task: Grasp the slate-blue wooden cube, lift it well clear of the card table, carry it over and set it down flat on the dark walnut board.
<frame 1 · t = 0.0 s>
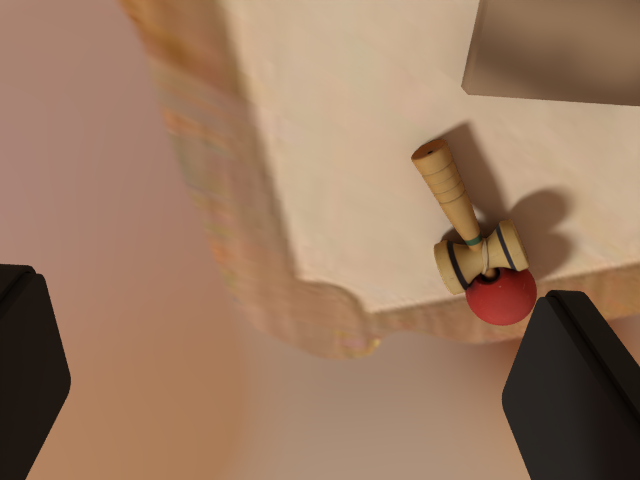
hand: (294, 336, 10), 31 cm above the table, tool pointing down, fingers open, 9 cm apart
kendama: (463, 223, 45), on the table
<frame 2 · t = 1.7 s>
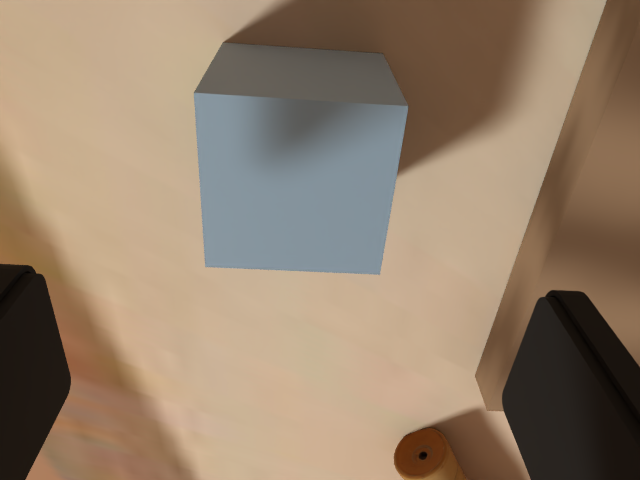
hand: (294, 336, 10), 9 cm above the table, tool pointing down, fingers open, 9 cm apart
cube: (299, 123, 17), on the table
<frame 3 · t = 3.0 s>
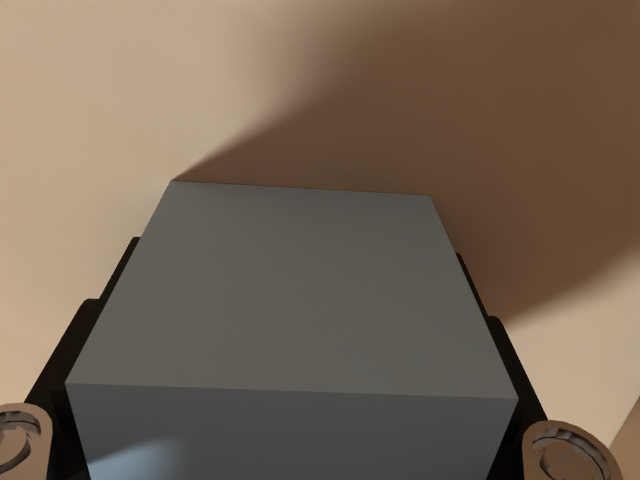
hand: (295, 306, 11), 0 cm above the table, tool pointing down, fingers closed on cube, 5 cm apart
cube: (295, 290, 11), on the table, touching gripper
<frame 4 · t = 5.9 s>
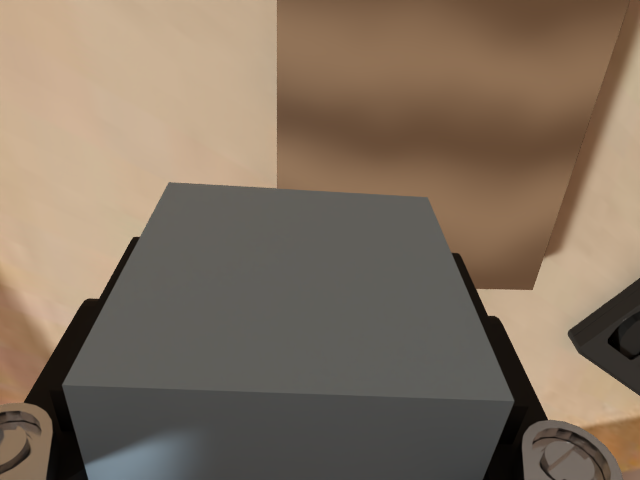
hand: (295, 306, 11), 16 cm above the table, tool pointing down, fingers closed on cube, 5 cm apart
cube: (294, 292, 11), point 15 cm above the table, touching gripper
board: (424, 113, 25), on the table
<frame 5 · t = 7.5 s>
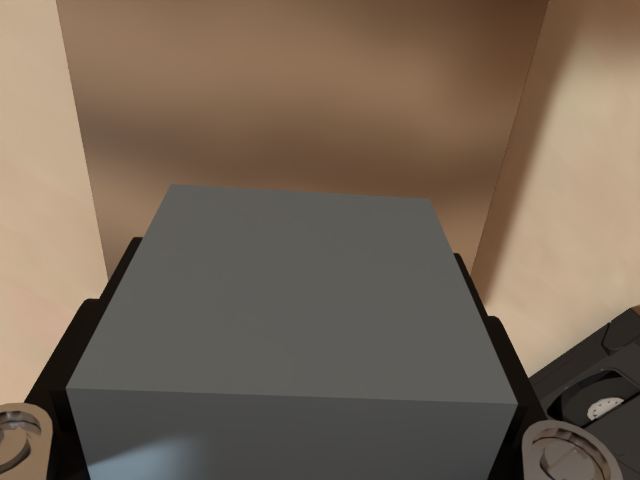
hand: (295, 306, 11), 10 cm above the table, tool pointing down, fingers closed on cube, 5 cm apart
cube: (295, 293, 11), point 9 cm above the table, touching gripper
board: (297, 131, 19), on the table
vhs tape: (632, 403, 29), on the table
when the fingers open (4 cm above the table, at t = 8.9 s): cube drops 1 cm, resting on board.
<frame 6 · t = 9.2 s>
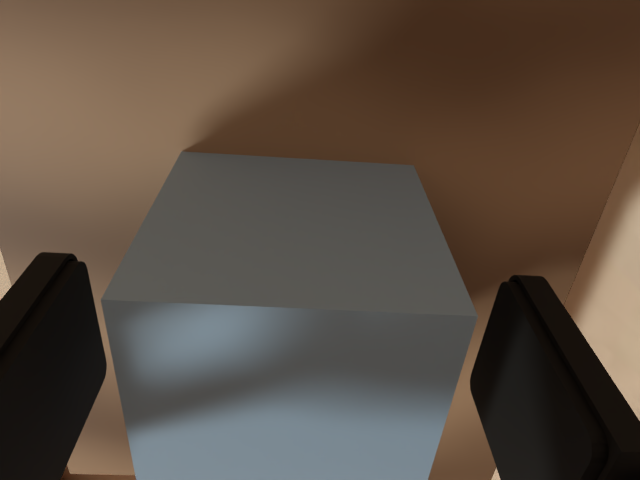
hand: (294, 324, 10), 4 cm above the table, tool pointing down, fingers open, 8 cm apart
cube: (293, 254, 12), point 2 cm above the table, touching board
board: (298, 215, 14), on the table
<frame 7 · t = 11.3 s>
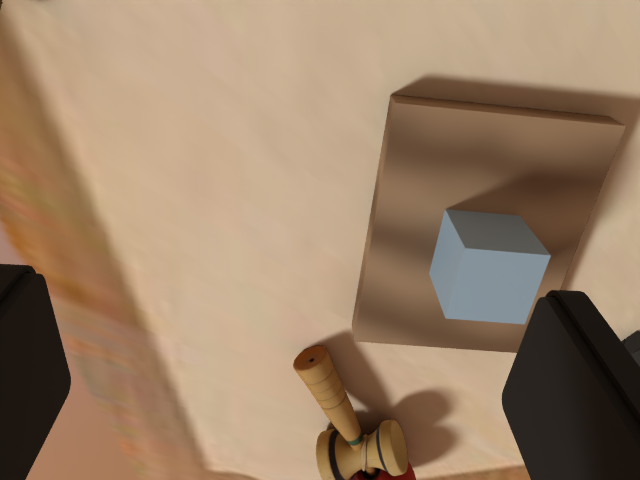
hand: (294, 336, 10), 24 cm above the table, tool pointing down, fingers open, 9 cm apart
cube: (473, 245, 35), point 2 cm above the table, touching board
kendama: (351, 412, 46), on the table
board: (466, 231, 36), on the table
vhs tape: (638, 392, 45), on the table
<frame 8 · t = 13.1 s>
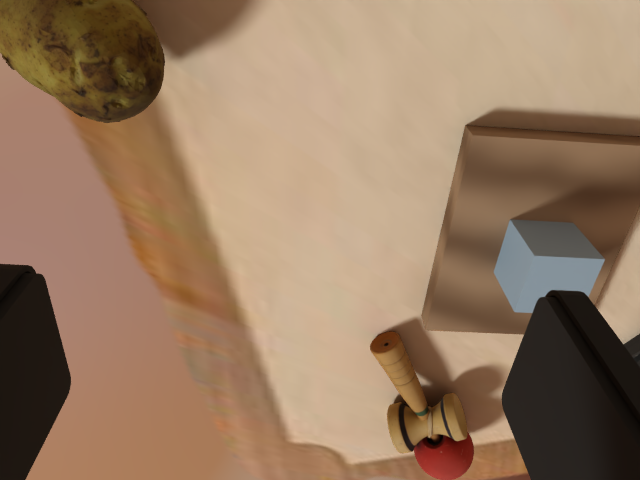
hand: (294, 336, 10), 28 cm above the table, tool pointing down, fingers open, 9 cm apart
cube: (532, 248, 41), point 2 cm above the table, touching board
kendama: (414, 387, 52), on the table
potato: (86, 8, 33), on the table
board: (524, 235, 42), on the table
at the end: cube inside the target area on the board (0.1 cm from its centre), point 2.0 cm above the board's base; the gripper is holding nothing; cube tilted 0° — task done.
